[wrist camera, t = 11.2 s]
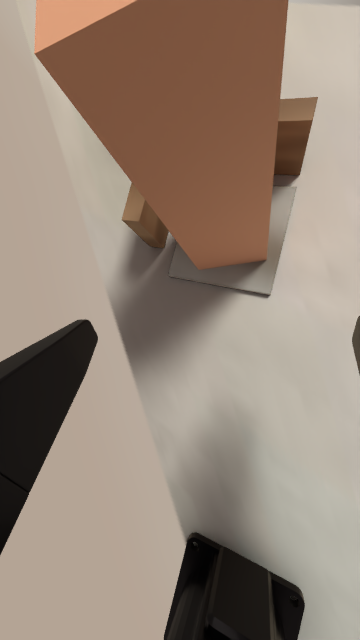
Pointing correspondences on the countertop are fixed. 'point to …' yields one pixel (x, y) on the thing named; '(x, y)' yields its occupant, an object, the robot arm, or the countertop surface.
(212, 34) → the terracotta block
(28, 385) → the robot arm
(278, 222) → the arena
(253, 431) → the countertop surface
